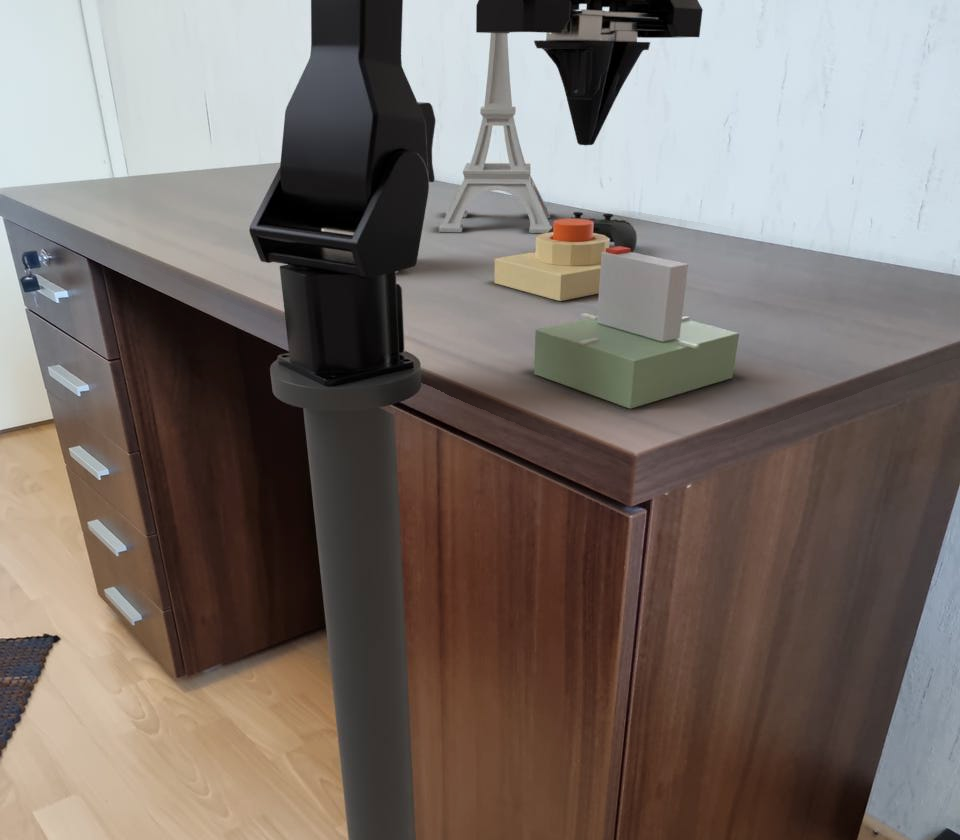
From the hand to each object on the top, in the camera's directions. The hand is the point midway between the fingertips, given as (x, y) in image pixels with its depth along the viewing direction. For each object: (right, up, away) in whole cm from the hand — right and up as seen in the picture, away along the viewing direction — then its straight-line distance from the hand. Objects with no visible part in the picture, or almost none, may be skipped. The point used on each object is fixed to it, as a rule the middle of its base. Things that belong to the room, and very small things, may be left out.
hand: (585, 144), depth 74 cm
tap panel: (+2, -22, -11) cm, 25 cm away
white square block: (+2, -19, -13) cm, 23 cm away
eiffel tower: (-6, +12, +40) cm, 42 cm away
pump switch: (0, -6, +12) cm, 14 cm away
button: (0, -3, +10) cm, 11 cm away
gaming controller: (+4, +2, +26) cm, 26 cm away
